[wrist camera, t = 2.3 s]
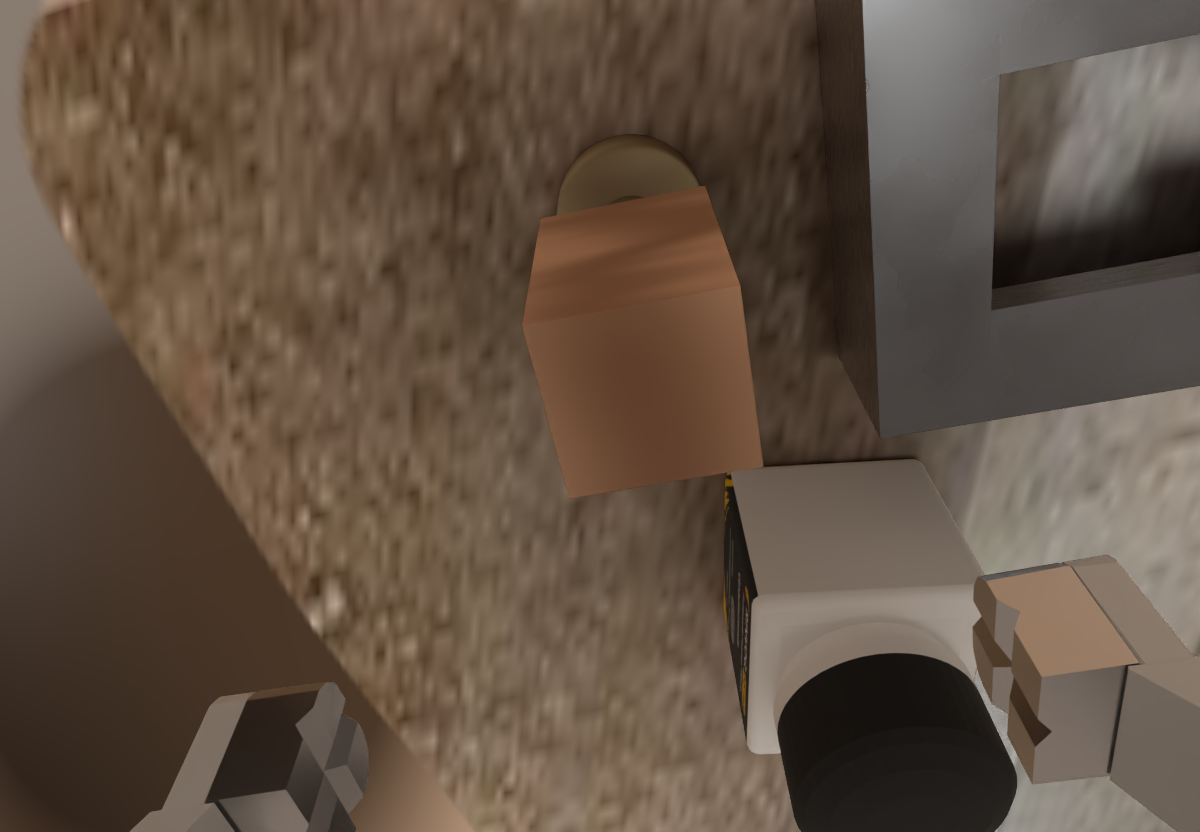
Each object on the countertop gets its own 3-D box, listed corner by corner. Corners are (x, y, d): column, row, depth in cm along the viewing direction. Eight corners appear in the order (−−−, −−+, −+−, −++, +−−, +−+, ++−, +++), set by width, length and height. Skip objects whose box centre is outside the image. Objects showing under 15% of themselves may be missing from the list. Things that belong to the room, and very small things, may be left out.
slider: (690, 120, 25) (750, 273, 15) (711, 260, 27) (774, 472, 18) (543, 151, 26) (508, 319, 16) (574, 286, 28) (561, 507, 18)
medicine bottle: (723, 465, 32) (783, 743, 21) (921, 454, 31) (1078, 730, 21) (722, 608, 35) (772, 904, 25) (898, 599, 35) (1023, 894, 25)
